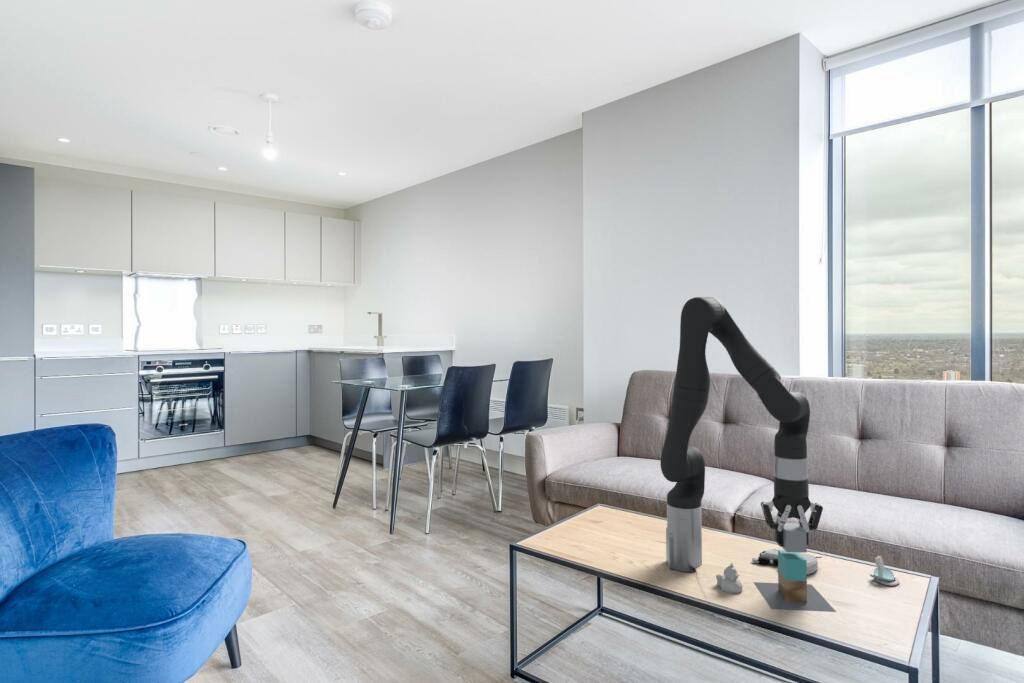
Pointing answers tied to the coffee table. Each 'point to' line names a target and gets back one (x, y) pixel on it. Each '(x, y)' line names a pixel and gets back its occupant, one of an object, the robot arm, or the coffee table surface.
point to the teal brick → (792, 565)
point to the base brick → (792, 589)
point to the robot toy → (772, 558)
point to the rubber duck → (729, 580)
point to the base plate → (779, 602)
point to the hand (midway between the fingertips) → (791, 545)
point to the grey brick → (794, 538)
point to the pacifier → (883, 573)
